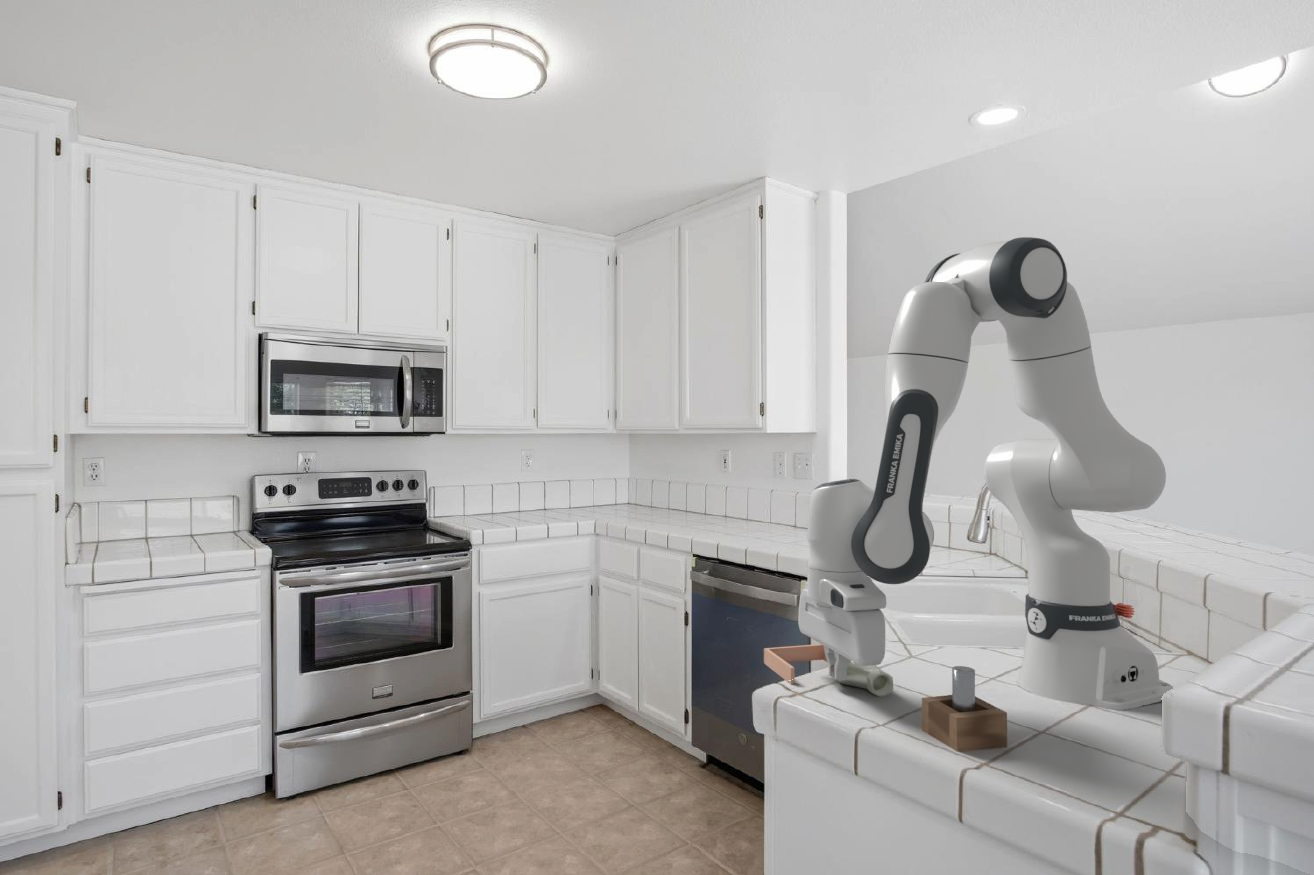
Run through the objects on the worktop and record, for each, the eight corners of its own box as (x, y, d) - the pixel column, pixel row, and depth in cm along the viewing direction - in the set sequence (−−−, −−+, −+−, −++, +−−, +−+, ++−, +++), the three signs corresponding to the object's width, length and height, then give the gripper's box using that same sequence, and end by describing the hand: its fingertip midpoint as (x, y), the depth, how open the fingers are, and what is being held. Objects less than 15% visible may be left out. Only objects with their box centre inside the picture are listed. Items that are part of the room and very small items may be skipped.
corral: (824, 658, 125) (824, 643, 125) (856, 678, 114) (856, 662, 114) (763, 663, 122) (763, 648, 122) (790, 684, 112) (790, 668, 112)
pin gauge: (965, 736, 92) (965, 665, 92) (979, 744, 89) (979, 671, 89) (948, 738, 91) (947, 666, 91) (961, 746, 89) (961, 673, 89)
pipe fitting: (829, 656, 114) (870, 652, 114) (830, 681, 114) (871, 677, 114) (848, 675, 106) (892, 671, 106) (849, 701, 106) (893, 697, 106)
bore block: (969, 727, 95) (969, 693, 95) (1007, 749, 88) (1007, 712, 88) (921, 732, 93) (921, 697, 93) (956, 755, 86) (956, 718, 86)
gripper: (788, 575, 119) (788, 659, 119) (852, 601, 99) (853, 703, 99) (823, 573, 120) (823, 656, 120) (893, 599, 100) (894, 698, 100)
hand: (837, 678), depth 109 cm, fingers closed
